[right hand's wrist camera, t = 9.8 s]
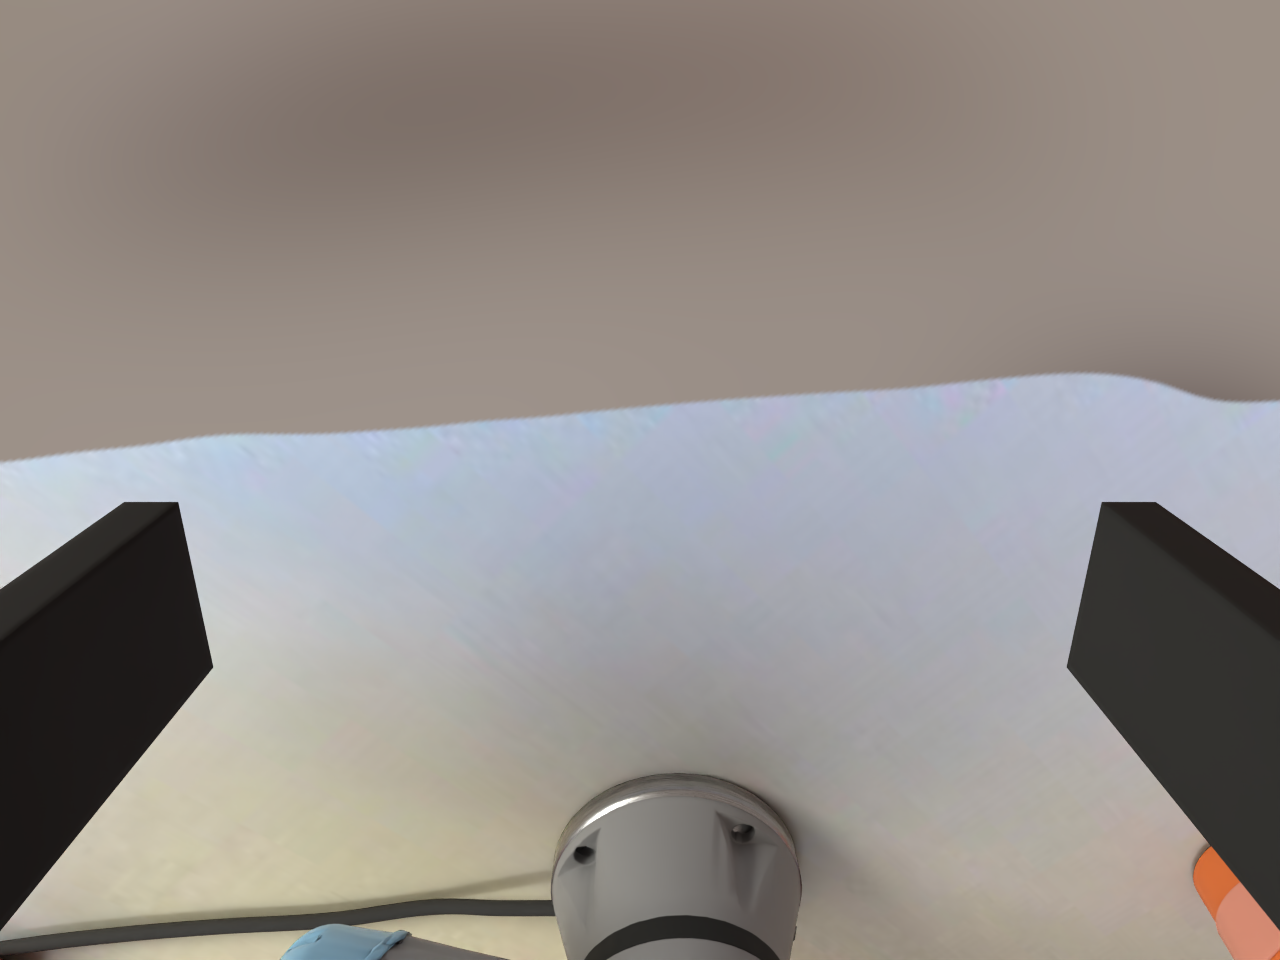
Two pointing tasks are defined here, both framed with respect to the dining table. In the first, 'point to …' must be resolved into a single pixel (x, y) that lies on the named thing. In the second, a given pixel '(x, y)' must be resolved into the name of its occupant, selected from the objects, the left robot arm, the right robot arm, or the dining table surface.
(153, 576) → the right robot arm
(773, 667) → the dining table surface
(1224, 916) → the cup with straw
